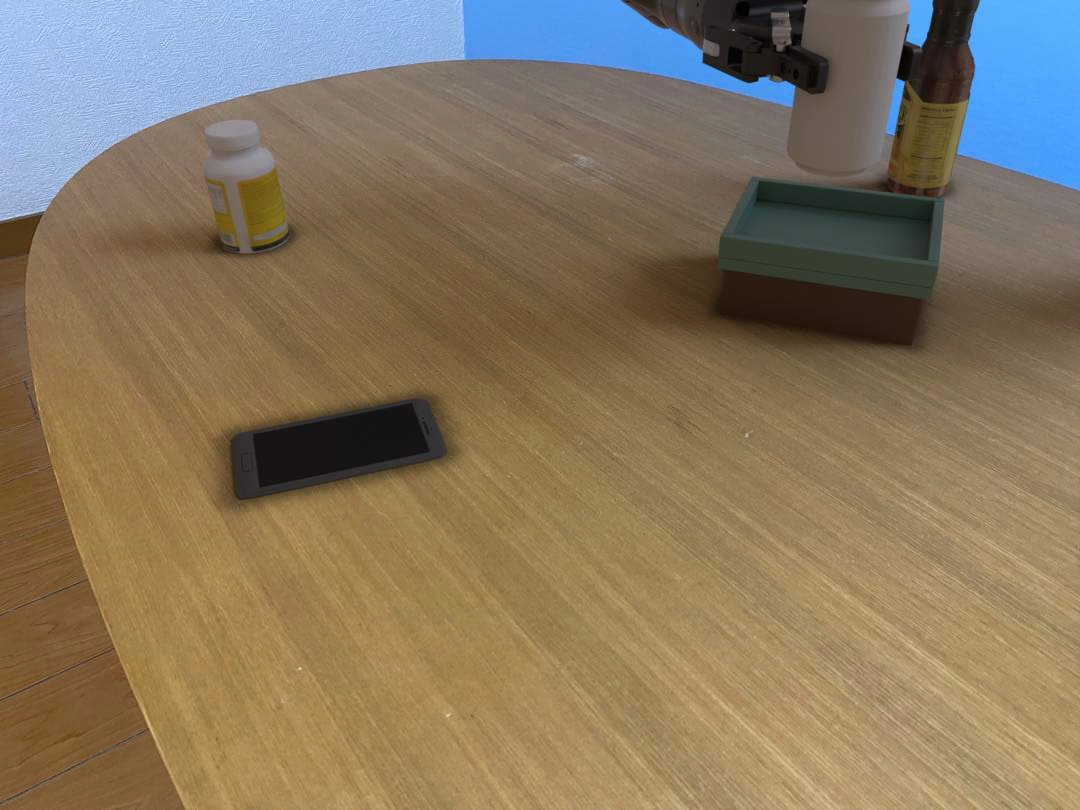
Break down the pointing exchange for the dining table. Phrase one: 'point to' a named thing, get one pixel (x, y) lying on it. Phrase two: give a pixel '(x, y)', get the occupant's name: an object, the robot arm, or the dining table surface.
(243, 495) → the cell phone
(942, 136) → the sauce bottle
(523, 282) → the dining table surface
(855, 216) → the storage box
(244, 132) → the pill bottle
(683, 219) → the dining table surface
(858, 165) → the beverage can
